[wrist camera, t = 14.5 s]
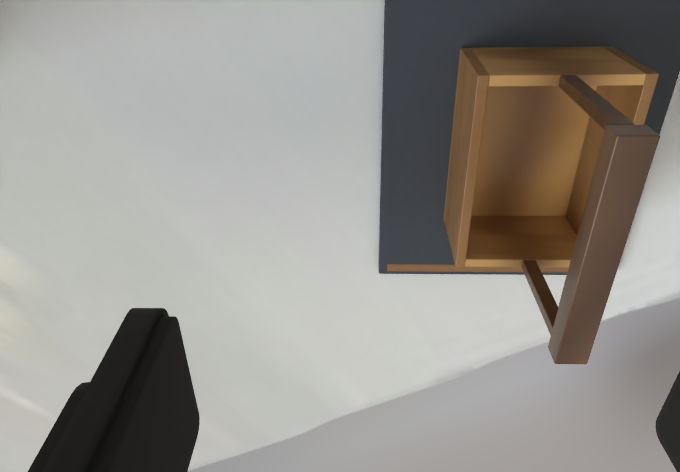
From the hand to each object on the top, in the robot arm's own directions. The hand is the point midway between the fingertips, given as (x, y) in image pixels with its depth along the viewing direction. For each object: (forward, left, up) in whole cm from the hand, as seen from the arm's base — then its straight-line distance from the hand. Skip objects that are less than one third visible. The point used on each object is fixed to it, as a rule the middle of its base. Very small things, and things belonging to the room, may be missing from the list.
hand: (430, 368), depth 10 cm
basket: (+9, -6, -26) cm, 29 cm away
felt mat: (+9, -6, -27) cm, 29 cm away
